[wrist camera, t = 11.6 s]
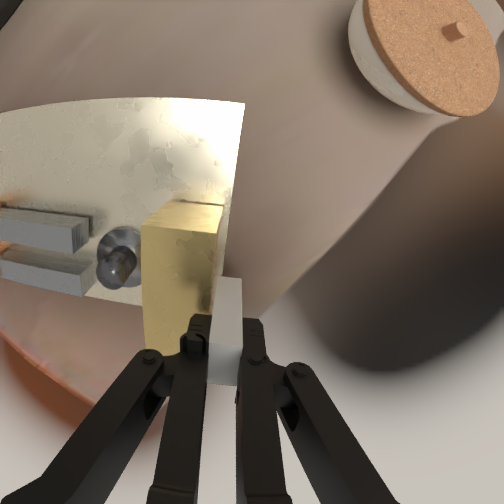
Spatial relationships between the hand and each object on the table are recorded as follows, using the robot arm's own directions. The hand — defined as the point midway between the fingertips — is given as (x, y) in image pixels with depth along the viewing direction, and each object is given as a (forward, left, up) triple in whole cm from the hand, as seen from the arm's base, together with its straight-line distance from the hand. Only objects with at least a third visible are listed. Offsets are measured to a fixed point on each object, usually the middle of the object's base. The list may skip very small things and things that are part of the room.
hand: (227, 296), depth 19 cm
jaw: (-17, -8, -4) cm, 19 cm away
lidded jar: (-1, +22, -5) cm, 22 cm away
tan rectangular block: (-3, -2, -4) cm, 5 cm away
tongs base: (-14, -4, -5) cm, 15 cm away
